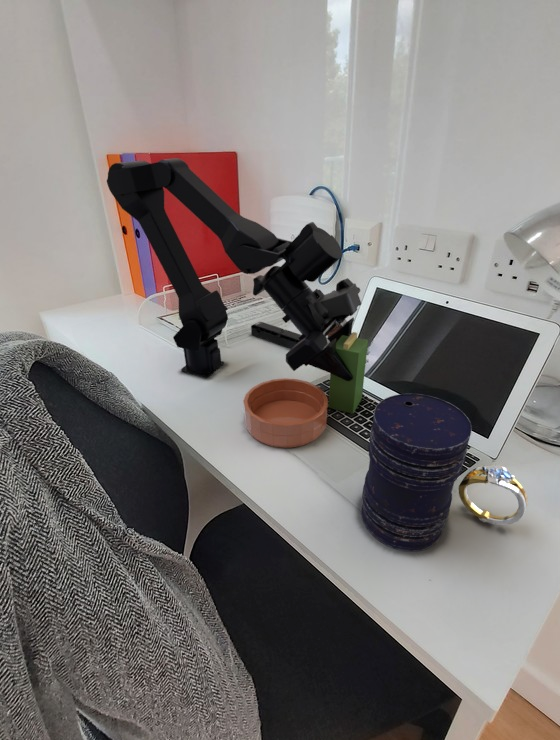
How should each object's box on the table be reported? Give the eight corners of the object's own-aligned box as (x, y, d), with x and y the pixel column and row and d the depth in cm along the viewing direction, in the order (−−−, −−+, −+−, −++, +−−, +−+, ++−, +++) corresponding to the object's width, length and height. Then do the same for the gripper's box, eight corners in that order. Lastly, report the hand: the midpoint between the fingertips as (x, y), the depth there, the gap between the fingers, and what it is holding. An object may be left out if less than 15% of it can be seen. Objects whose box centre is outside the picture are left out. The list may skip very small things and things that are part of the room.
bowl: (230, 434, 65) (228, 411, 63) (268, 393, 75) (267, 372, 73) (307, 458, 60) (308, 434, 57) (337, 411, 70) (339, 388, 67)
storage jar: (460, 544, 47) (494, 442, 39) (379, 559, 45) (397, 456, 38) (419, 482, 55) (440, 388, 47) (349, 493, 54) (359, 398, 46)
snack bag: (328, 407, 71) (332, 341, 64) (338, 393, 75) (342, 329, 68) (352, 414, 69) (359, 347, 62) (361, 398, 73) (368, 334, 66)
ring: (449, 512, 51) (463, 463, 47) (459, 497, 53) (474, 449, 49) (510, 544, 47) (531, 494, 43) (518, 527, 49) (540, 477, 45)
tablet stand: (319, 353, 88) (319, 340, 87) (312, 357, 87) (312, 344, 85) (258, 331, 98) (257, 320, 97) (250, 335, 97) (249, 323, 95)
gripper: (306, 285, 54) (380, 375, 56) (349, 252, 68) (408, 325, 70) (256, 330, 61) (322, 409, 63) (305, 292, 75) (358, 357, 77)
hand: (356, 372), depth 68 cm, fingers closed on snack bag, 5 cm apart
